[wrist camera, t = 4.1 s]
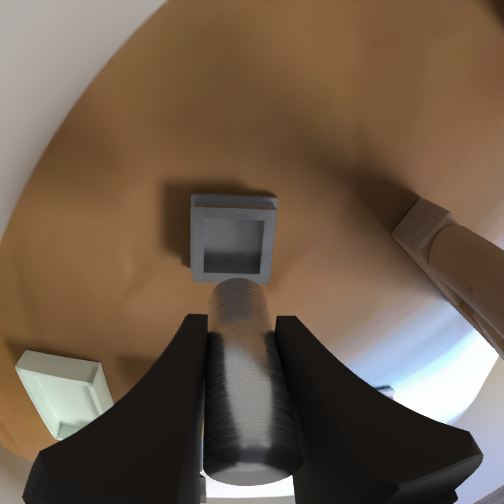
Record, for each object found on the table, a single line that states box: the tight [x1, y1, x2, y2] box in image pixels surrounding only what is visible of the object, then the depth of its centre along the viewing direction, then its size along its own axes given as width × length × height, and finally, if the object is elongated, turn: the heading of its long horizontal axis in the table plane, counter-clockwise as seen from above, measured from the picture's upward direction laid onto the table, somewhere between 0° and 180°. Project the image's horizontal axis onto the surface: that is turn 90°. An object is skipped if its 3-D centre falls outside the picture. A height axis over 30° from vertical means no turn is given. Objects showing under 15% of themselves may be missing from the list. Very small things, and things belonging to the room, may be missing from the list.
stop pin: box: [203, 278, 303, 486], centre depth 9 cm, size 2×2×7 cm
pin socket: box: [190, 192, 278, 284], centre depth 18 cm, size 5×5×2 cm
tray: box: [15, 350, 114, 440], centre depth 23 cm, size 8×11×2 cm
